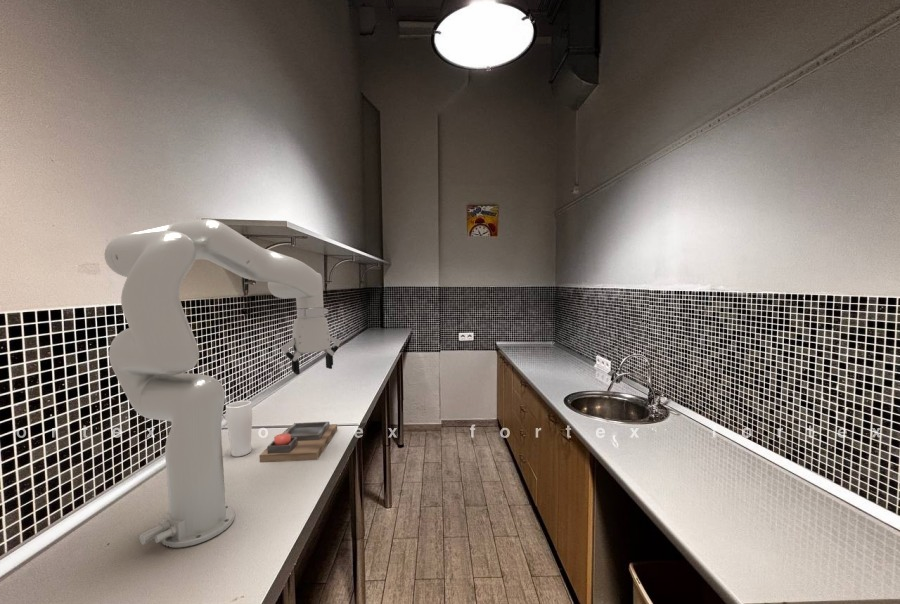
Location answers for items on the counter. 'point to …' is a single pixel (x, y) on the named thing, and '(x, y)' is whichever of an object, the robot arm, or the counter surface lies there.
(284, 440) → the button
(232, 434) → the drinking glass
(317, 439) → the brown flat wooden board
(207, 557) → the counter surface
